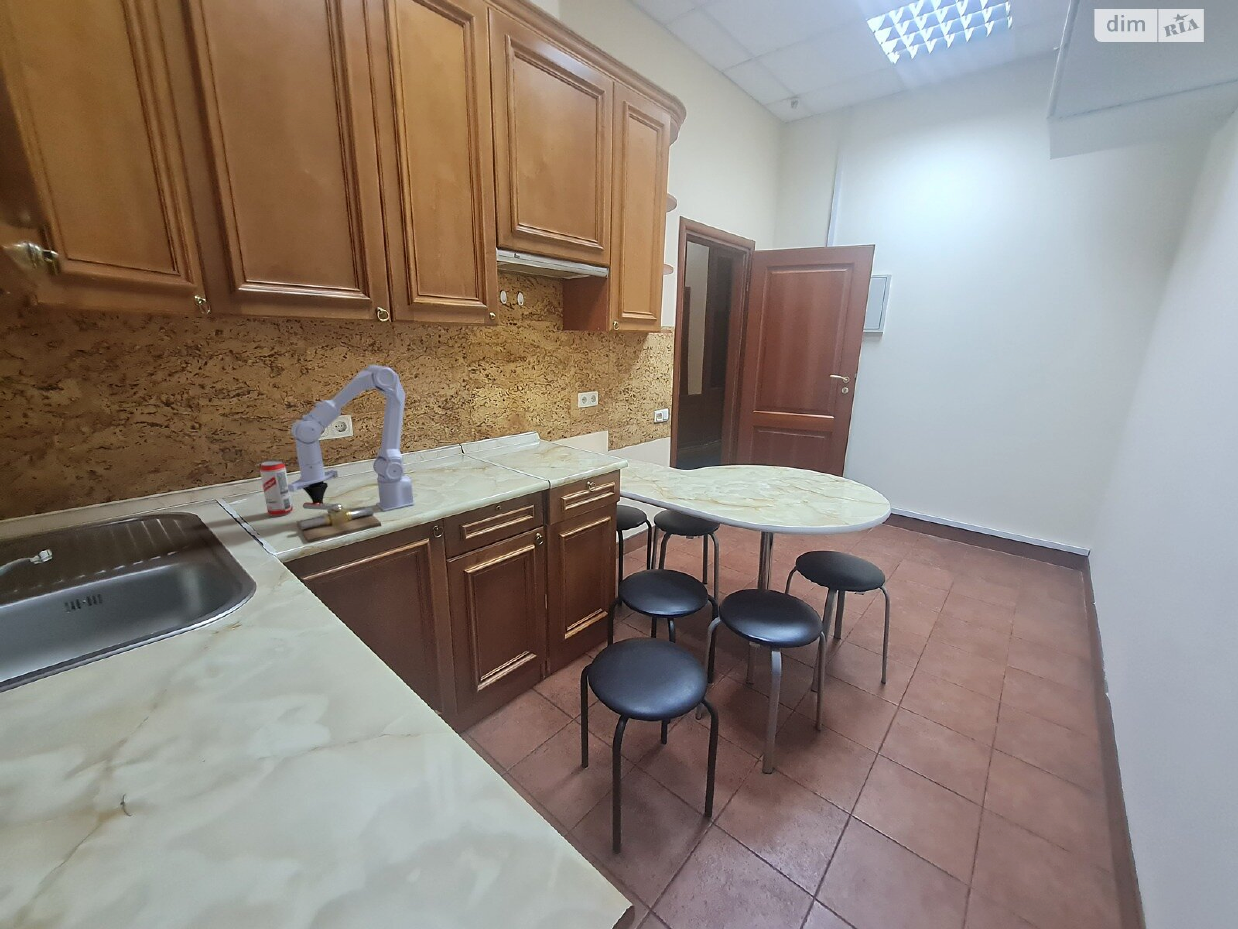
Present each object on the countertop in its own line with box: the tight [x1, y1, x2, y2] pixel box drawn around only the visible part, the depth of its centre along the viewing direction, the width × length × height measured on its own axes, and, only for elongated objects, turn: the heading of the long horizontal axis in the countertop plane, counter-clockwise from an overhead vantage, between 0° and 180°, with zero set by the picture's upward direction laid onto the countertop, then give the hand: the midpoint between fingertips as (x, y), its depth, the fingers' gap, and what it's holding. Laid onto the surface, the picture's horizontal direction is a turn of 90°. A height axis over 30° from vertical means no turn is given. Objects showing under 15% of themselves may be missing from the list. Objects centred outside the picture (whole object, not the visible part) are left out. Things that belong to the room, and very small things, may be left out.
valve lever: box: [302, 502, 343, 511], centre depth 135 cm, size 11×3×2 cm, turn 85°
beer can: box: [259, 460, 294, 517], centre depth 142 cm, size 6×6×16 cm
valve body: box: [300, 506, 374, 530], centre depth 136 cm, size 18×4×4 cm, turn 132°
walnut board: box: [296, 506, 382, 544], centre depth 136 cm, size 18×16×1 cm
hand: (318, 507), depth 137 cm, fingers closed, pressing on valve lever
